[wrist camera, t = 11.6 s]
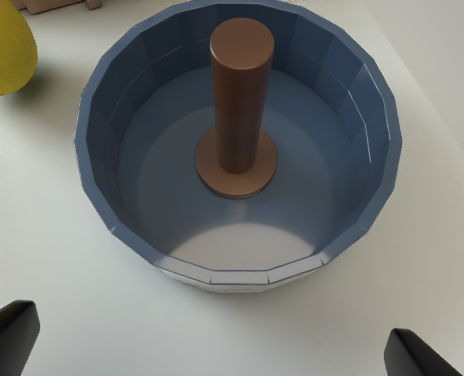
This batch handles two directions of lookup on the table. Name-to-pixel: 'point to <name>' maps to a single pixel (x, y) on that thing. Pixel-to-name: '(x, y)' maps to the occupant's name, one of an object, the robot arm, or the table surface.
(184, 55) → the bowl
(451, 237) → the table surface
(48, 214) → the table surface
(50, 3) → the wooden puzzle
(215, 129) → the brown wooden peg
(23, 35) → the lemon
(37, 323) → the robot arm
